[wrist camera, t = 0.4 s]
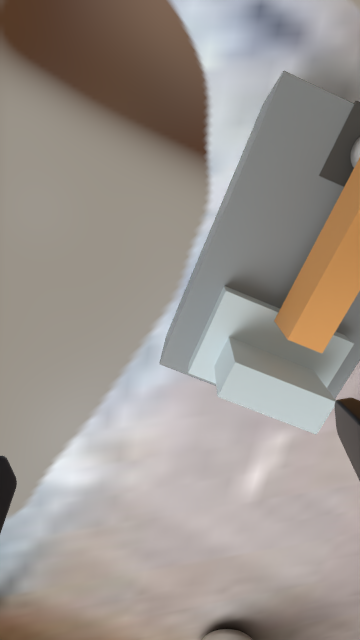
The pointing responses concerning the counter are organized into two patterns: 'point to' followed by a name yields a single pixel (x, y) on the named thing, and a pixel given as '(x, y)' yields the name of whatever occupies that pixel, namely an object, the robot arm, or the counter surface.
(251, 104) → the counter surface
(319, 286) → the orange square pillar
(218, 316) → the cover
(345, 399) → the robot arm
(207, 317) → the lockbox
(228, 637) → the plastic bottle
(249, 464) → the counter surface
